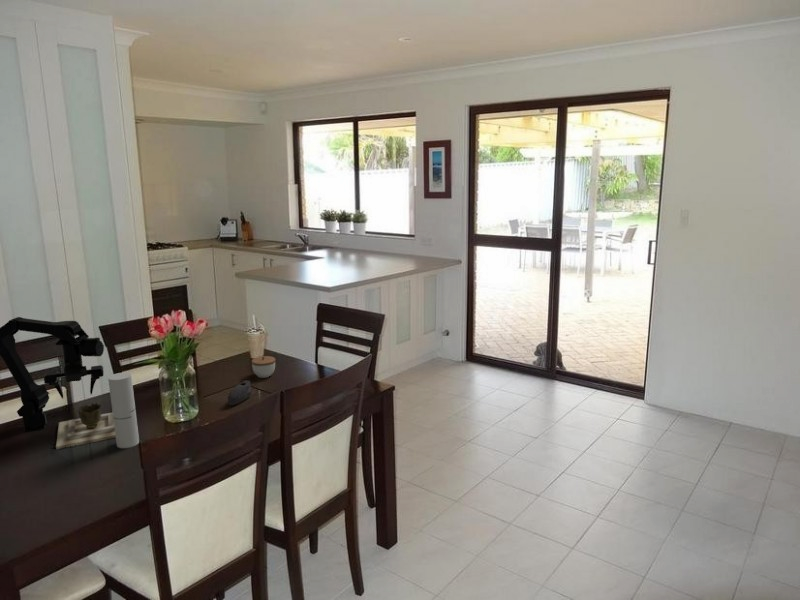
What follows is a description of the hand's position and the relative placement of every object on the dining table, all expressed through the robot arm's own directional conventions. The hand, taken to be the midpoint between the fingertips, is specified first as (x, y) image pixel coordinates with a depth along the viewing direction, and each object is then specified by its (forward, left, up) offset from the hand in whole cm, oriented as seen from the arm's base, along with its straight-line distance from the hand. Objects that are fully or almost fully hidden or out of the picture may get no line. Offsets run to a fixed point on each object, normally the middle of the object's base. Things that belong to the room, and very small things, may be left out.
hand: (77, 396), depth 209 cm
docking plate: (+4, -6, -12) cm, 14 cm away
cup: (+4, -6, -11) cm, 13 cm away
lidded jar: (+75, +20, -12) cm, 78 cm away
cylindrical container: (+15, -24, -12) cm, 30 cm away
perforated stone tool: (+58, -5, -12) cm, 59 cm away
